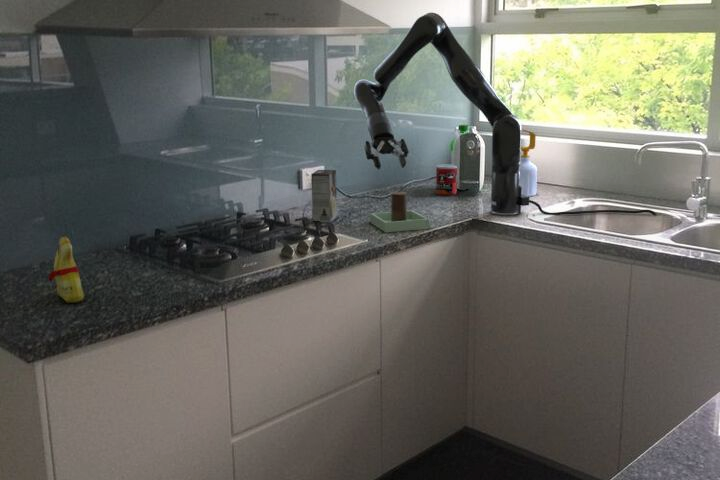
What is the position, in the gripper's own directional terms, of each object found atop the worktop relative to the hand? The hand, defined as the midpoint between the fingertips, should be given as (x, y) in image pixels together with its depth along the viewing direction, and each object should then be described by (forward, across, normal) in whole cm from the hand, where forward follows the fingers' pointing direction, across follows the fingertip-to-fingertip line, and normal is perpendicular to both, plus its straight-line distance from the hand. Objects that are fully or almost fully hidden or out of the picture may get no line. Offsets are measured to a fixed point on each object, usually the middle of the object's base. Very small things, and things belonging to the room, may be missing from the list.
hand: (391, 166), depth 274 cm
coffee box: (+9, -22, +15) cm, 28 cm away
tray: (+21, -2, +3) cm, 21 cm away
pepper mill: (+20, -2, +3) cm, 21 cm away
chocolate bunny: (+52, -102, -28) cm, 118 cm away
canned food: (-9, +33, +34) cm, 48 cm away
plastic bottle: (-14, +43, +39) cm, 60 cm away
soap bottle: (-1, +60, +26) cm, 65 cm away
